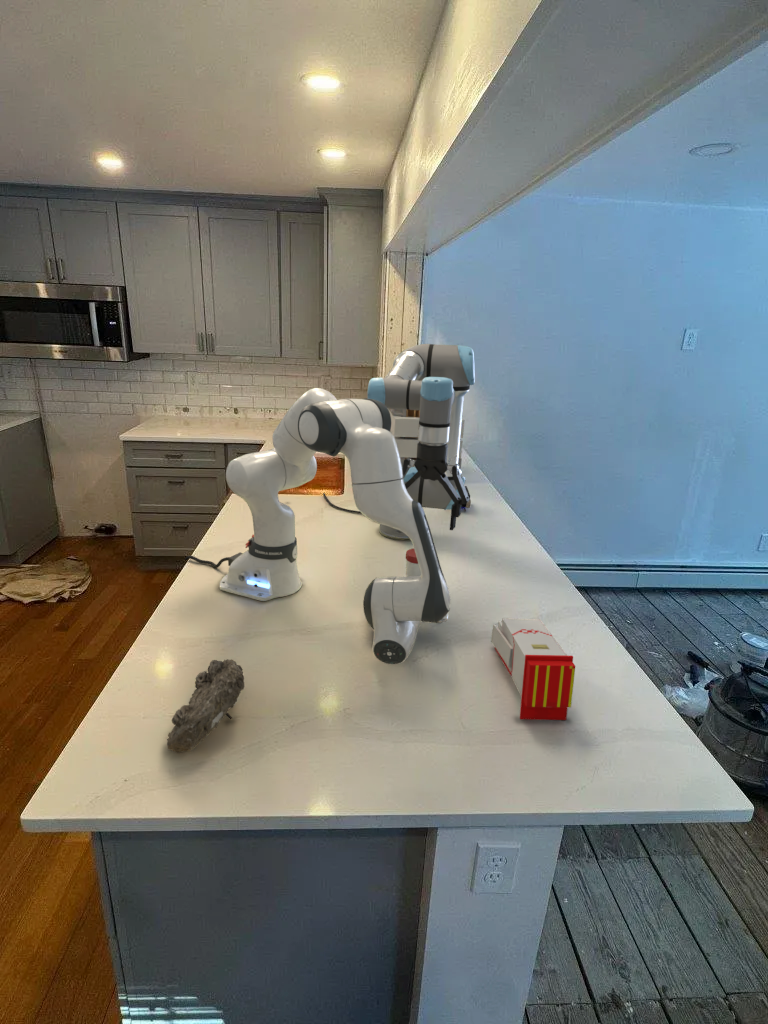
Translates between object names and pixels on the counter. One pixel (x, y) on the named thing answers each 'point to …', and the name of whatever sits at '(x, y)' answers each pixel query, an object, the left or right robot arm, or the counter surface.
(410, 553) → the lid
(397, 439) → the white wooden crate
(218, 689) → the fossil
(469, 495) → the figurine character
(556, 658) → the toy
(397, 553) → the counter surface
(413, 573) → the jar
